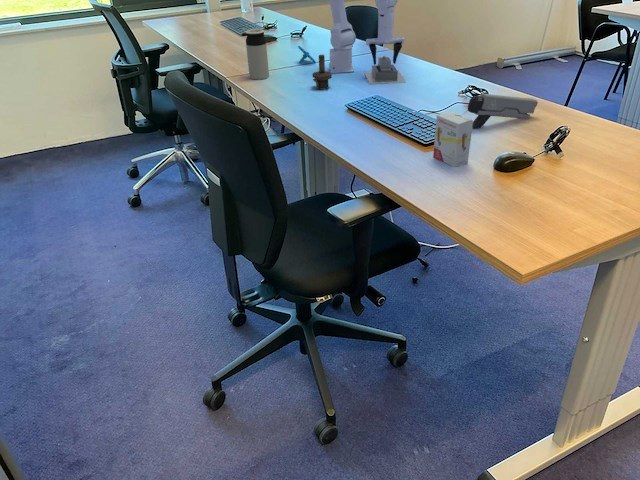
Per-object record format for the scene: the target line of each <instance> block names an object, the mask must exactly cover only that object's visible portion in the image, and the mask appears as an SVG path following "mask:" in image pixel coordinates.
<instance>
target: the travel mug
mask: <svg viewBox="0 0 640 480" xmlns="http://www.w3.org/2000/svg"><path fill="white" fill-rule="evenodd" d="M264 34H265V30H264V29H262V28H253V29H252V28H251V29H248V30H245V35H246V39H245V47H246V55H247V64H248V66H247V67H248V72H249V73H248V75H249V79H252V80H256V79H260V80H264V78H265V79H267V78H269V77H270V72H269V59H268V48H267V46H268V45H267V38H266V37H265V35H264Z"/></svg>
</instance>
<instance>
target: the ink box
mask: <svg viewBox="0 0 640 480" xmlns="http://www.w3.org/2000/svg"><path fill="white" fill-rule="evenodd" d="M435 121H436V122H435V134H434V145H433V156H432V157H433V158H435V159H437V160H439V161H441V162H443V163H445V164H448V165H450V166H452V167H453V168H457V167H459V166H462V165H465V164H468V163H469V155H470V149H471V140H472V135H473V134H472V133H473V128H472V126H473V121H474V120H473V119H472V118H470V117H468V116H466V115H463V114H460V113H458V112H455V111H453V110H452V111H446V112H444V113H440V114H437V115H436V120H435Z"/></svg>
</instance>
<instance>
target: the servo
mask: <svg viewBox="0 0 640 480" xmlns="http://www.w3.org/2000/svg"><path fill="white" fill-rule="evenodd" d="M377 65H378V71H381V72H383V71H391V65H392V60H391V59H390V57H389V56H386V55H382V57H378V61H377Z"/></svg>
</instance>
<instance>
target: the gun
mask: <svg viewBox="0 0 640 480" xmlns="http://www.w3.org/2000/svg"><path fill="white" fill-rule="evenodd" d="M537 106H538V100H537V99H534V98H527V97H518V96H511V95H509V96H508V95H498V94H491V93H490V94H489V93H481V94H480V95H477V96H476V95H474V96H471V98H470V99H469V101H468V104H467V111H468V112H469V113H472V114H475V115H477V116H476V117H475V118H474V120H473V126H472V129H477V130H480V129H482V128H483V127H484V125H485V124H486V123H487V121H488V120H489V119H490V118H491V117H497V118H498V117H500V118H510V119H511V118H513V119H525V120H528V119H530V118H531V114H534V113H535V110H536V107H537Z"/></svg>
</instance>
